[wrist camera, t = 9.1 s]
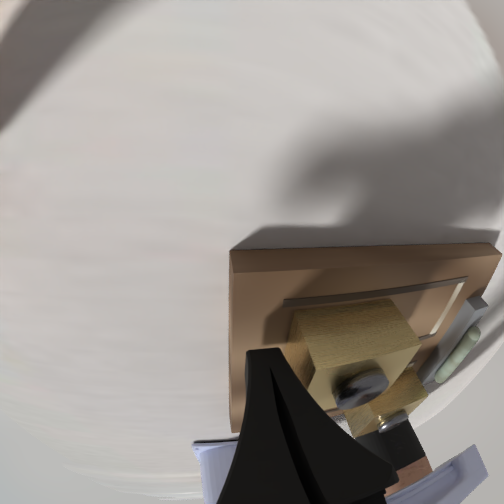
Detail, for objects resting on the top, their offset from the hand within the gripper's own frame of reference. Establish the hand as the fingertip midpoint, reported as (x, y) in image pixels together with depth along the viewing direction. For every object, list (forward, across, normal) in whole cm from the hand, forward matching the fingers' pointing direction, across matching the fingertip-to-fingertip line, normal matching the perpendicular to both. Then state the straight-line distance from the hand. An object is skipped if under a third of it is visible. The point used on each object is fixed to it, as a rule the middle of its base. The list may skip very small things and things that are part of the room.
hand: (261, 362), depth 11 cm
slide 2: (+1, -10, +8) cm, 13 cm away
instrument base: (+3, -8, +4) cm, 9 cm away
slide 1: (+1, -4, 0) cm, 4 cm away
